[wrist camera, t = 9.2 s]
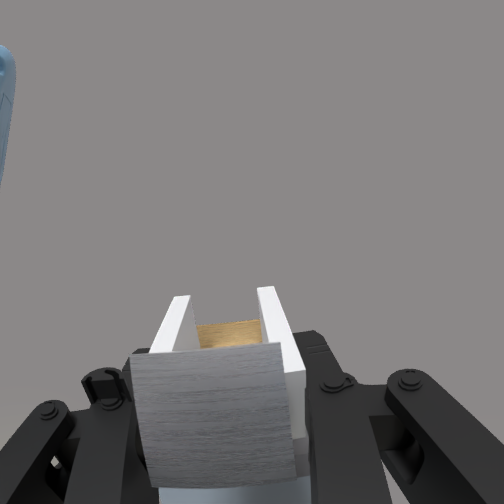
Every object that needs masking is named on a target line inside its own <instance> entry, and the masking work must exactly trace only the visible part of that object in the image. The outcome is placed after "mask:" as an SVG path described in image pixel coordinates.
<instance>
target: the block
mask: <svg viewBox="0 0 504 504" xmlns="http://www.w3.org/2000/svg"><path fill="white" fill-rule="evenodd" d="M196 327H197V333H198V338H199V343H200V349H193V350H183V351H171V352H159V353H145V354H130V355H129V358H130V367H131V376H132V384H133V392H134V399H135V406H136V412H137V419H138V425H139V430H140V436H141V441H142V446H143V451H144V456H145V461H146V465H147V469H148V474H149V478H150V482H151V486H152V487H158V488H179V489H215V488H236V487H249V486H259V485H268V484H276V483H284V482H290V481H296V480H297V477H296V468H295V459H294V450H293V441H292V432H291V424H290V415H289V407H288V399H287V390H286V382H285V374H284V366H283V358H282V350H281V342H262V333H261V324H260V319H256V320H248V321H239V322H230V323H220V324H210V325H199V326H196Z"/></svg>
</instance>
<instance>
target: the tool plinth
mask: <svg viewBox="0 0 504 504" xmlns="http://www.w3.org/2000/svg"><path fill="white" fill-rule="evenodd" d="M292 441H293V450H294V459H295V468H296V477H297V480H296V481H290V482H284V483H276V484H268V485H259V486H249V487H236V488H215V489H179V488H159V495H160V498H161V502H162V504H311V482H310V463H309V462H308V452H309V436H308V433H307V429H306V437H304V438H298V439H292Z"/></svg>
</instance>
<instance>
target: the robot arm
mask: <svg viewBox="0 0 504 504" xmlns="http://www.w3.org/2000/svg"><path fill="white" fill-rule="evenodd" d="M15 80H16V67H15V61H14V58H13V56H12V54H11V52H10V51H9V50H8V49H7V48H6V47H4V46H2V45H0V183H1V180H2V176H3V170H4V163H5V156H6V149H7V142H8V135H9V129H10V121H11V114H12V108H13V100H14V92H15V82H16V81H15ZM257 293H258V304H259V314H260V324H261V333H262V342H281V350H282V358H283V366H284V374H285V382H286V390H287V399H288V407H289V415H290V424H291V432H292V439H298V438H304V437H306V429H307V433H308V436H309V452H308V462H309V463H310V482H311V504H392V500H391V496H390V492H389V488H388V484H387V480H386V476H385V472H384V469H383V465H382V462H383V463H384V465H385V466H386V468H387V469H388V471H389V472H390V474H391V475H392V477H393V478H394V480H395V482H396V483H397V485H398V486H399V487H400V489H401V491H402V492H403V494H404V495H405V497H406V498H407V500H408V502H409V503H410V504H504V445H503V444H502V443H501V442H500V441H499V440H498V439H497V438H496V437H495V436H494V435H493V434H492V433H491V432H490V431H489V430H488V429H486V427H484V426H483V425H482V424H481V423H480V422H479V421H478V420H477V419H476V418H475V417H474V416H472V414H471V413H470V412H468V411H467V410H466V409H465V408H464V407H463V406H462V405H461V404H460V403H459V402H458V401H457V400H455V399H454V398H453V397H452V396H451V395H450V394H449V393H448V392H447V391H446V390H445V389H443V388H442V387H441V386H440V385H439V384H438V383H437V382H436V381H435V380H434V379H432V378H431V377H430V376H429V375H428V374H426V373H424V372H423V371H420V370H416V369H404V370H399V371H396V372H395V373H393V374H391V375H390V377H389V378H388V380H387V384H386V385H363V384H359V383H358V382H357V380H356V379H355V378H354V377H353V376H351V375H350V374H348V373H344V372H343V371H342V369H341V368H340V366H339V364H338V362H337V360H336V359H335V357H334V355H333V353H332V352H331V350H330V348H329V346H328V345H327V342H326V341H325V339H324V337H323V336H322V335H321V334H319V333H317V332H316V331H314V330H312V331H306V332H299V333H293V334H292V332H291V330H290V327H289V324H288V322H287V319H286V317H285V314H284V312H283V309H282V306H281V304H280V301H279V299H278V296H277V294H276V291H275V288H274V286H270V287H261V288H257ZM193 349H200V343H199V338H198V333H197V327H196V322H195V317H194V312H193V307H192V301H191V296H190V295H189V296H178V297H174V299H173V301H172V303H171V305H170V307H169V310H168V312H167V314H166V316H165V318H164V320H163V322H162V325H161V327H160V329H159V331H158V333H157V335H156V338H155V340H154V342H153V345H152V346H151V348H142V349H137V350H136V351H135V352H133V353H132V354H145V353H159V352H171V351H183V350H193ZM125 364H126V365H124V367H123V369H122V372H121V371H120V370H119V369H116V368H101V369H97V370H95V371H92V372H90V373H89V374H87V375H86V376H85V377H84V378H83V379H82V381H81V383H82V385H83V387H84V389H85V392H86V394H87V396H88V398H89V401H90V403H91V406H90V409H86V410H79V411H72V412H70V411H69V409H68V407H67V405H66V404H65V403H64V402H62V401H59V400H49V401H45V402H44V403H42V404H40V405H38V406H37V407H36V408H35V409H34V410H33V411H32V412H31V414H30V415H29V416H28V417H27V418H26V420H25V421H24V422H23V423H22V424H21V426H20V427H19V428H18V429H17V431H16V432H15V433H14V434H13V435H12V437H11V438H10V439H9V440H8V442H7V443H6V444H5V446H4V447H3V448H2V450H1V451H0V504H159V488H158V487H152V486H151V482H150V478H149V474H148V469H147V465H146V461H145V456H144V451H143V446H142V441H141V436H140V430H139V425H138V419H137V412H136V406H135V399H134V392H133V384H132V376H131V367H130V358H128V360H127V361H126V363H125ZM54 456H55V457H56V458H57V460H58V461H59V463H58V464H57V465H56V466H55V467H54V466H53V465H52V464H51V460H52V459H53V457H54ZM381 460H382V462H381Z"/></svg>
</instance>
